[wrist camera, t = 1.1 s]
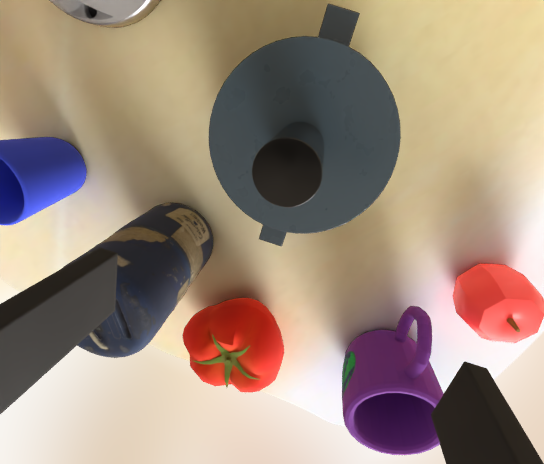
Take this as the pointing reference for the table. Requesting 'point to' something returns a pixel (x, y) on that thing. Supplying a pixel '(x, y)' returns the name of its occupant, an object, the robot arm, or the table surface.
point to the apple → (498, 303)
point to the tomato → (235, 344)
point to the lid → (304, 134)
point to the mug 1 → (36, 175)
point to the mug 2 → (392, 388)
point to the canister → (150, 275)
